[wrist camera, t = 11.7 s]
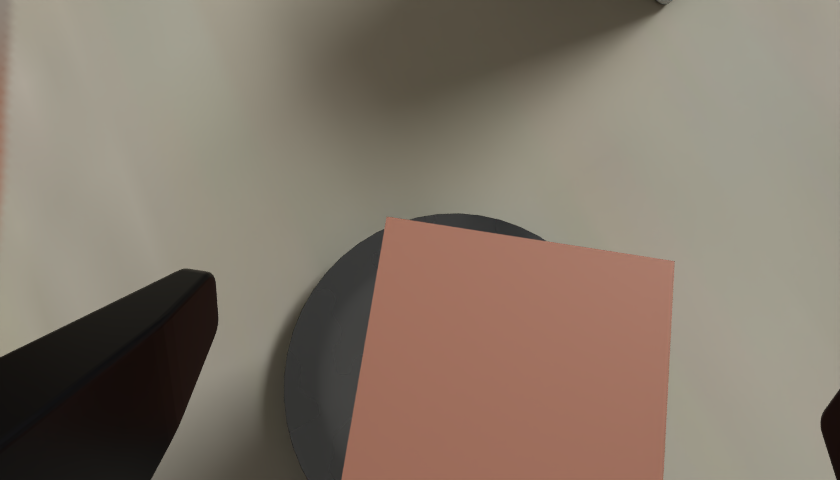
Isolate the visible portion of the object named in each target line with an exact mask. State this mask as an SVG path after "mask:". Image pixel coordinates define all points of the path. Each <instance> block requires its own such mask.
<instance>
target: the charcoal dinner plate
mask: <svg viewBox="0 0 840 480" xmlns="http://www.w3.org/2000/svg"><path fill="white" fill-rule="evenodd" d="M411 220H412V221H418V222H425V223H431V224H438V225H444V226H451V227H457V228H463V229H470V230H476V231H483V232H489V233H496V234H502V235H508V236H515V237H521V238H528V239H534V240H541V241H545V240H544V239H542V238H541V237H539V236H537V235H535V234H533V233H531V232H529V231H527V230H525V229H523V228H521V227H519V226H516V225H513V224H510V223H507V222H505V221H502V220H498V219H494V218H489V217H485V216H480V215H470V214H436V215H430V216H424V217H418V218H414V219H411ZM383 235H384V229H383V230H381V231H379V232H377V233H375V234H373V235H372V236H370V237H368V238H367V239H365V240H364V241H362V242H360V243H359V244H357V245H356V246H355V247H354V248H352V249H351V250H350V251H349V252H347V253H346V254H345V255H344V256H342V257H341V258H340V259H339V260H338V261H337V262H336V263H335V264H334V265H333V266H332V267H331V268H330V270H329V271H328V272H327V273H326V274H325V275H324V277H323V278H322V279H321V281H320V282H319V283H318V285H317V286H316V287H315V289H314V290H313V292H312V293H311V295H310V297H309V299H308V300H307V302H306V304H305V306H304V307H303V309H302V311H301V314H300V316H299V319H298V321H297V323H296V326H295V328H294V331H293V334H292V338H291V342H290V346H289V349H288V353H287V360H286V368H285V375H284V402H285V411H286V419H287V425H288V429H289V433H290V437H291V441H292V445H293V448H294V450H295V453H296V455H297V458H298V460H299V463H300V465H301V468H302V470H303V472H304V474H305V475H306V477H307V479H308V480H341V479H342V473H343V468H344V462H345V456H346V450H347V444H348V439H349V433H350V427H351V421H352V415H353V409H354V404H355V398H356V392H357V386H358V380H359V375H360V369H361V363H362V357H363V351H364V346H365V340H366V334H367V328H368V322H369V317H370V311H371V305H372V299H373V293H374V288H375V282H376V276H377V270H378V264H379V259H380V253H381V247H382V241H383Z"/></svg>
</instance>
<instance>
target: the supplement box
mask: <svg viewBox="0 0 840 480" xmlns="http://www.w3.org/2000/svg"><path fill="white" fill-rule="evenodd" d="M657 1H658V2H660V3H661V4H668V3H670V2H671V1H672V0H657Z"/></svg>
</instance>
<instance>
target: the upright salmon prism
mask: <svg viewBox="0 0 840 480" xmlns="http://www.w3.org/2000/svg"><path fill="white" fill-rule="evenodd" d="M674 262H675V261H669V260H663V259H656V258H650V257H644V256H637V255H631V254H624V253H618V252H611V251H605V250H599V249H592V248H586V247H579V246H573V245H566V244H560V243H554V242H547V241H541V240H534V239H528V238H521V237H515V236H508V235H502V234H496V233H489V232H483V231H476V230H470V229H463V228H457V227H451V226H444V225H438V224H431V223H425V222H418V221H412V220H406V219H399V218H393V217H387V218H386V224H385V229H384V235H383V241H382V247H381V253H380V259H379V264H378V270H377V276H376V282H375V288H374V293H373V299H372V305H371V311H370V317H369V322H368V328H367V334H366V340H365V346H364V351H363V357H362V363H361V369H360V375H359V380H358V386H357V392H356V398H355V404H354V409H353V415H352V421H351V427H350V433H349V439H348V444H347V450H346V456H345V462H344V468H343V473H342V479H341V480H663V472H664V453H665V434H666V415H667V396H668V377H669V357H670V338H671V319H672V300H673V281H674Z"/></svg>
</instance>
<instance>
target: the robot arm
mask: <svg viewBox="0 0 840 480" xmlns="http://www.w3.org/2000/svg"><path fill="white" fill-rule="evenodd" d="M217 326H218V307H217V293H216V282H215V278H214V276H213V275H212V274H211V273H210V272H206V271H200V270H193V269H181V270H179V271H176V272H174V273H172V274H170V275H168V276H166V277H164V278H162V279H160V280H158V281H156V282H154V283H152V284H150V285H148V286H146V287H144V288H142V289H140V290H137V291H135V292H133V293H131V294H129V295H127V296H125V297H123V298H121V299H119V300H117V301H115V302H113V303H111V304H109V305H107V306H105V307H103V308H101V309H99V310H96V311H94V312H92V313H90V314H88V315H86V316H84V317H82V318H80V319H78V320H76V321H74V322H72V323H70V324H68V325H66V326H64V327H62V328H60V329H57V330H55V331H53V332H51V333H49V334H47V335H45V336H43V337H41V338H39V339H37V340H35V341H33V342H31V343H29V344H27V345H25V346H23V347H21V348H18V349H16V350H14V351H12V352H10V353H8V354H6V355H4V356H2V357H0V480H151V478H152V477H153V475H154V473H155V471H156V469H157V467H158V465H159V463H160V462H161V460H162V458H163V456H164V454H165V452H166V450H167V449H168V447H169V445H170V443H171V441H172V439H173V437H174V435H175V433H176V431H177V429H178V427H179V424H180V422H181V420H182V417H183V415H184V413H185V410H186V407H187V405H188V402H189V400H190V397H191V395H192V392H193V390H194V387H195V385H196V382H197V380H198V377H199V375H200V372H201V370H202V367H203V365H204V362H205V359H206V357H207V354H208V352H209V349H210V347H211V344H212V342H213V339H214V337H215V334H216V331H217ZM821 431H822V435H823V438H824V441H825V444H826V447H827V451H828V454H829V457H830V460H831V463H832V466H833V470H834V473H835V476H836V479H837V480H840V389H839V391H838V392H837V394H836V395H835V396H834V398H833V399H832V400H831V402H830V403H829V405H828V406H827V407H826V409H825V410H824V412H823V414H822V417H821Z"/></svg>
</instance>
